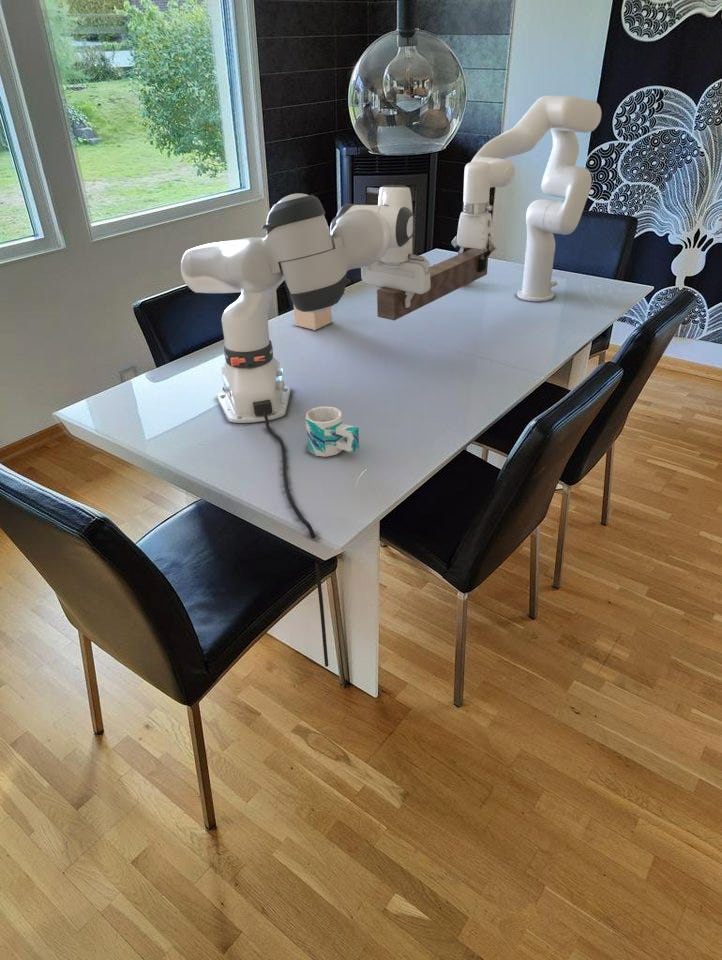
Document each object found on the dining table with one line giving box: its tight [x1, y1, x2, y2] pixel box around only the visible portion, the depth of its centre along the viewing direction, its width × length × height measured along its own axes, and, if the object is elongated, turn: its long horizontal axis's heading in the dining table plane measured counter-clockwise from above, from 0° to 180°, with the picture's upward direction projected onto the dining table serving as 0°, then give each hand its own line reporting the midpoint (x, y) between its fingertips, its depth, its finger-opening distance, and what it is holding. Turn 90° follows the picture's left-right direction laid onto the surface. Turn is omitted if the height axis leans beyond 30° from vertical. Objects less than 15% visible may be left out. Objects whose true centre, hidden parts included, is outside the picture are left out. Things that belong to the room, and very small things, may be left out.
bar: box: [376, 248, 489, 321], centre depth 193 cm, size 50×6×7 cm, turn 142°
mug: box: [305, 405, 360, 458], centre depth 147 cm, size 8×12×8 cm
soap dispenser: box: [292, 303, 333, 331], centre depth 211 cm, size 13×9×22 cm
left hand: (395, 304), depth 180 cm, fingers closed on bar, 5 cm apart
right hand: (472, 269), depth 207 cm, fingers closed on bar, 5 cm apart
